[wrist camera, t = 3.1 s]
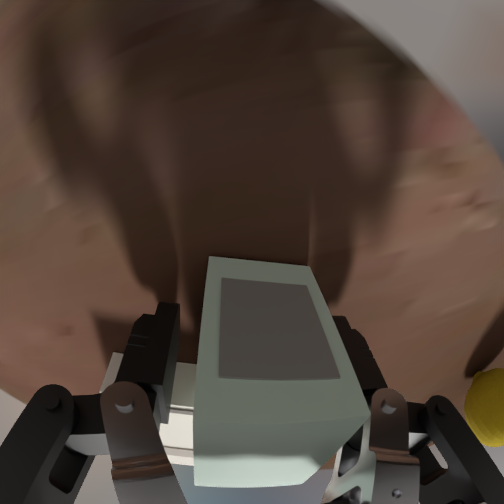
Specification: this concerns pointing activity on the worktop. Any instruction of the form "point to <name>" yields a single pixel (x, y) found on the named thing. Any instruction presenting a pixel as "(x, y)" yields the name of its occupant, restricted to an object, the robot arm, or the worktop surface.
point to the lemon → (486, 407)
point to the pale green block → (269, 378)
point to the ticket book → (171, 410)
